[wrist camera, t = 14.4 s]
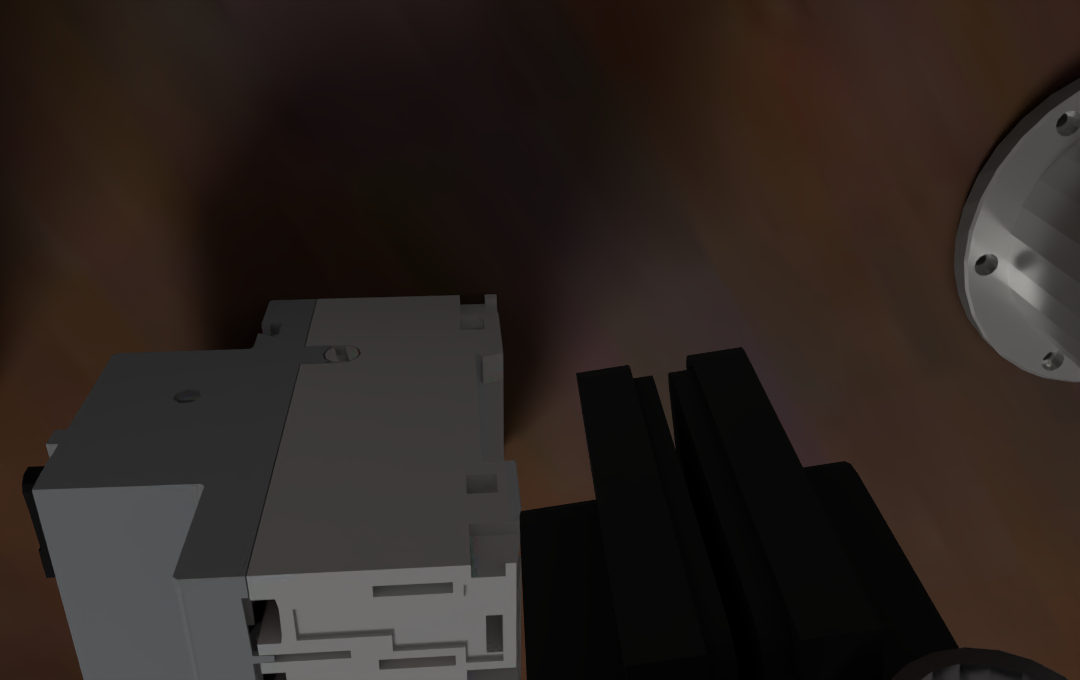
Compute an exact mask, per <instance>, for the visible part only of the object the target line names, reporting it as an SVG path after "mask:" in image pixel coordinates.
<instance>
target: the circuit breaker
mask: <svg viewBox="0 0 1080 680" xmlns="http://www.w3.org/2000/svg"><path fill="white" fill-rule="evenodd" d="M484 296H485V304H464V305H460V295H447V296H410V297H373V298H336V299H317V301H316V299H301V300H272V301H270V302H269V304H268V307H267V310H266V313H265V316H264V318H263V321H262V332H263V334H260V333H258V335H257V338H256V341H255V344H254V347H252V348H251V349H232V350H203V351H173V352H143V353H117V354H114V355H112V357H111V359H110V360H109V362H108V364H107V365H106V367H105V369H104V370H103V372H102V373H101V375H100V377H99V378H98V380H97V382H96V383H95V385H94V387H93V388H92V390H91V391H90V393H89V395H88V396H87V398H86V400H85V401H84V403H83V405H82V406H81V408H80V410H79V411H78V413H77V414H76V416H75V418H74V419H73V421H72V423H71V424H70V426H69V428H68V429H67V430H55V431H54V433H53V434H52V436H51V437H50V439H49V440H48V442H47V444H46V446H47V450H48V454H49V457H50V459H49V460H48V462H47V464H46V465H45V466H40V467H28V468H27V470H26V472H25V473H24V476H23V482H22V490H23V495H24V498H25V501H26V503H27V506H28V509H29V512H30V515H31V519H32V522H33V525H34V528H35V531H36V534H37V538H38V541H39V544H40V549H39V553H40V557H41V560H42V564H43V567H44V571H45V574H46V578H50V577H56V580H57V583H58V587H59V591H60V594H61V598H62V602H63V605H64V609H65V613H66V616H67V620H68V624H69V627H70V631H71V635H72V638H73V642H74V646H75V649H76V653H77V656H78V660H79V664H80V667H81V671H82V675H83V678H84V680H521V557H519V546H520V520H519V515H520V511H521V502H520V493H519V485H518V476H517V468H516V461H504V400H503V347H502V339H501V330H500V322H499V313H497V296H496V294H484Z"/></svg>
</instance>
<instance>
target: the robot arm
mask: <svg viewBox="0 0 1080 680" xmlns="http://www.w3.org/2000/svg"><path fill="white" fill-rule="evenodd" d="M1058 119H1059V120H1058ZM954 271H955V277H956V284H957V290H958V295H959V298H960V300H961V303H962V305H963V308H964V310H965V313H966V315H967V318H968V319H969V320H970V322H971V323H972V325H973V326H974V327H975V329H976V330H977V331H978V333H979V334H980V336H981V337H982V338H983V339H984V340H985V341H986V342H987V343H988V344H989V345H990V346H992V347H993V348H994V349H995V350H996V351H997V352H998V353H999V354H1000V355H1001V356H1002V357H1004V358H1005V359H1007V360H1008V361H1010V362H1011V363H1013V364H1014V365H1016V366H1017V367H1019V368H1021V369H1022V370H1024V371H1027V372H1030V373H1032V374H1035V375H1037V376H1040V377H1043V378H1047V379H1054V380H1061V381H1068V382H1080V78H1079V79H1077V80H1075V81H1074V82H1072V83H1070V84H1069V85H1067V86H1065V87H1063V88H1062V89H1060V90H1058V91H1057V92H1055V93H1053V94H1052V95H1051V96H1049V97H1048V98H1047V99H1046V100H1044V101H1043V102H1042V103H1041V104H1040V105H1038V106H1037V107H1036V108H1035V109H1033V110H1032V111H1031V112H1030V113H1029V114H1027V115H1026V116H1025V117H1024V118H1023V119H1022V120H1021V121H1020V122H1019V123H1018V124H1017V125H1016V126H1015V127H1014V128H1013V130H1012V131H1011V132H1010V133H1009V134H1008V135H1007V136H1006V137H1005V138H1004V139H1003V141H1002V142H1001V143H1000V144H999V145H998V146H997V148H996V149H995V151H994V152H993V154H992V155H991V157H990V158H989V160H988V161H987V163H986V164H985V166H984V167H983V169H982V170H981V172H980V173H979V175H978V177H977V179H976V181H975V183H974V185H973V188H972V190H971V192H970V194H969V196H968V199H967V201H966V203H965V205H964V208H963V212H962V215H961V219H960V223H959V227H958V231H957V235H956V242H955V258H954ZM686 368H687V370H684V371H678V372H671V373H669V375H668V381H669V392H670V401H671V410H672V419H673V428H674V437H675V446H676V450H675V447H674V443H673V440H672V437H671V434H670V430H669V427H668V424H667V421H666V417H665V414H664V411H663V408H662V404H661V401H660V398H659V395H658V391H657V388H656V385H655V382H654V379H653V376H646V377H640V378H633V377H632V373H631V369H630V366H629V365H625V366H619V367H612V368H606V369H600V370H593V371H587V372H581V373H576V375H577V382H578V388H579V395H580V401H581V407H582V414H583V420H584V427H585V433H586V439H587V446H588V452H589V458H590V465H591V471H592V478H593V484H594V490H595V497H596V500H591V501H584V502H578V503H571V504H565V505H558V506H552V507H545V508H539V509H532V510H526V511H520V515H519V520H520V545H521V566H522V587H523V607H524V628H525V649H526V670H527V680H1068V679H1067V678H1065V677H1064V676H1062V675H1060V674H1058V673H1057V672H1055V671H1053V670H1051V669H1049V668H1047V667H1045V666H1043V665H1041V664H1039V663H1037V662H1035V661H1034V660H1031V659H1027V658H1024V657H1021V656H1017V655H1014V654H1010V653H1007V652H1003V651H1000V650H990V649H978V648H966V647H965V648H959V647H958V645H957V644H956V642H955V640H954V638H953V637H952V635H951V633H950V632H949V630H948V628H947V626H946V625H945V623H944V621H943V620H942V618H941V616H940V614H939V613H938V611H937V609H936V607H935V606H934V604H933V602H932V601H931V599H930V597H929V595H928V594H927V592H926V590H925V589H924V587H923V585H922V583H921V582H920V580H919V578H918V576H917V575H916V573H915V571H914V570H913V568H912V566H911V564H910V563H909V561H908V559H907V558H906V556H905V554H904V552H903V551H902V549H901V547H900V546H899V544H898V542H897V540H896V539H895V537H894V535H893V533H892V532H891V530H890V528H889V527H888V525H887V523H886V521H885V520H884V518H883V516H882V515H881V513H880V511H879V509H878V508H877V506H876V504H875V502H874V501H873V499H872V497H871V496H870V494H869V492H868V490H867V489H866V487H865V485H864V484H863V482H862V480H861V478H860V477H859V475H858V473H857V472H856V470H855V469H854V468H853V466H852V465H851V464H850V463H848V462H845V461H843V462H836V463H830V464H823V465H817V466H810V467H804V468H803V467H802V465H801V463H800V461H799V459H798V457H797V455H796V453H795V451H794V449H793V447H792V445H791V443H790V441H789V439H788V437H787V435H786V433H785V431H784V429H783V427H782V425H781V423H780V421H779V419H778V417H777V415H776V413H775V411H774V409H773V407H772V405H771V403H770V401H769V399H768V397H767V395H766V393H765V391H764V389H763V387H762V385H761V383H760V381H759V379H758V377H757V375H756V373H755V371H754V369H753V367H752V365H751V363H750V361H749V359H748V357H747V355H746V353H745V351H744V350H743V348H742V347H739V348H733V349H726V350H720V351H714V352H707V353H701V354H695V355H688V356H687V359H686Z"/></svg>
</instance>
